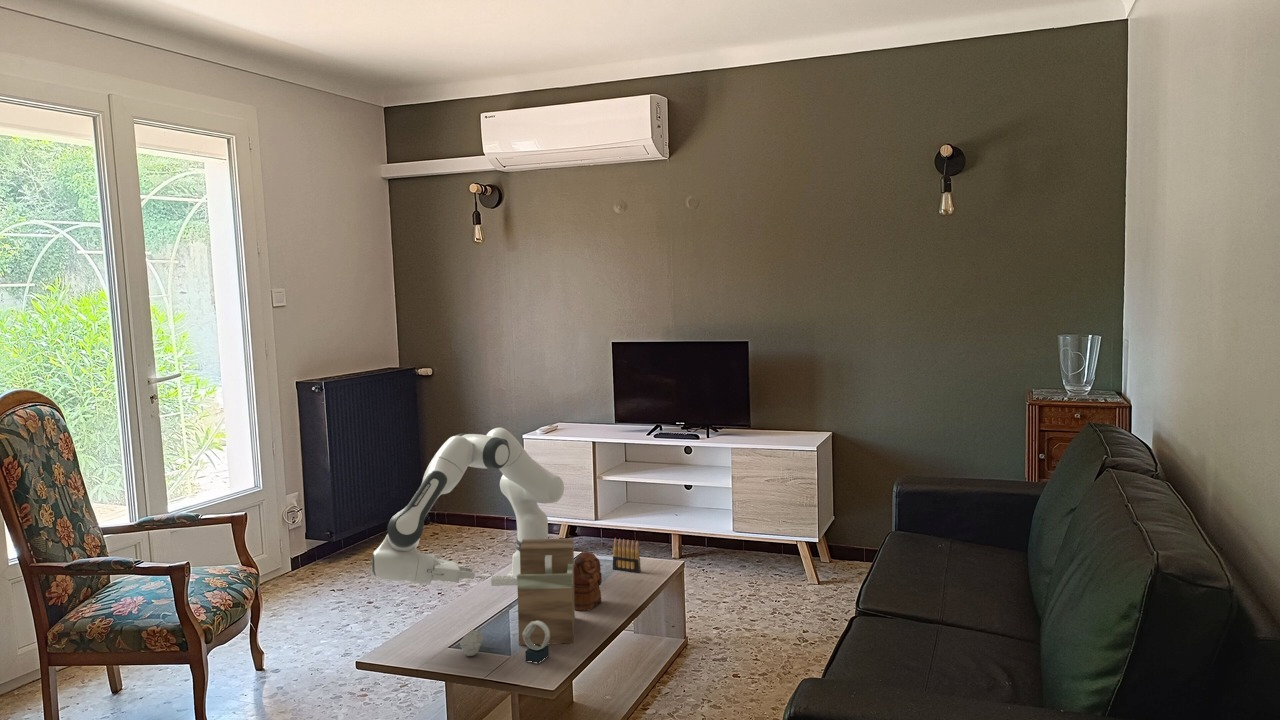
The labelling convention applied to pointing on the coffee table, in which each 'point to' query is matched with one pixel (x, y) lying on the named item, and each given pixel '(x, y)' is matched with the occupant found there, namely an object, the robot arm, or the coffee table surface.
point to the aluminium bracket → (513, 579)
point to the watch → (537, 650)
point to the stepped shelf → (547, 589)
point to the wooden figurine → (587, 581)
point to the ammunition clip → (626, 557)
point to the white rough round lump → (471, 643)
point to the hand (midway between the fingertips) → (473, 573)
